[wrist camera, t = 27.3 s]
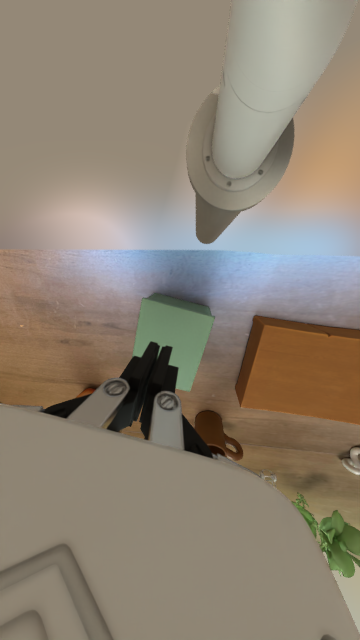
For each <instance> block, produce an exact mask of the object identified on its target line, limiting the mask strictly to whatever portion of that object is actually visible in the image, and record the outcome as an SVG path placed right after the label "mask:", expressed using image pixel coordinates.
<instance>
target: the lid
mask: <svg viewBox="0 0 360 640" xmlns="http://www.w3.org/2000/svg"><path fill="white" fill-rule="evenodd" d="M214 319H215V316H212V315H208V314H205V313H201V312H197V311H193V310H189V309H186V308H182V307H178V306H174V305H171V304H167V303H163V302H159V301H155V300H152V299H148V298H144V297H143V298H142V302H141V308H140V314H139V320H138V326H137V332H136V338H135V344H134V350H133V356H138V357H142V355H143V353H144V351H145V350H146V348H147V346H148V344H149V343H150V341H152V342H156V343H158V345H159V346H160V349H159V353H160V351H161V348H162V346H163V347H165V346H166V345H167V346H171V347H173V349H172V352H171V356H170V360H169V364H168V365H172V366H175V367H179V370H178V376H177V382H176V388H177V389H181V390H184V391H188V392H190V389H191V387H192V384H193V381H194V378H195V375H196V372H197V369H198V366H199V363H200V360H201V357H202V354H203V351H204V349H205V346H206V343H207V340H208V337H209V334H210V331H211V328H212V325H213V322H214ZM159 353H158V356H159ZM133 356H132V358H133Z"/></svg>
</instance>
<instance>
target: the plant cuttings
mask: <svg viewBox="0 0 360 640" xmlns="http://www.w3.org/2000/svg"><path fill="white" fill-rule="evenodd" d="M268 471H269V470H268ZM270 473H271V471H270ZM271 475H272V476H264V474H263V470H262V473H261V472H260V477H261V478H262V479H264V477H271V478H272V479H273V480H274V482H276V480H277V479H276V475H275V473H274V474H271ZM266 481H271V480H266ZM272 484H273V482H272ZM275 487H276V485H275ZM297 494H298V492H297ZM297 496H298V497H299V498H300V499H296V502H297V503H298V504H297V503H295V502H293V501H291V502H292V503H293V504H294V505H295V507H296V508H297V509H298V510H299V512H300V513H301V515H302V516H303V517H304V519H305V521H306V522H307V524H308V526H309V527H310V529H311V531H312V533H313V535H314V537H315V539H316V529H317V530H318V532H320V534H319V535H320V538H321V542H322V543H321V545H320V548H321V550H322V552H326V554H327V558H328V562H329V567H330V569H331V570H338V571H339V574H340V571H341V572H342V573H343V576H344V577H348V578H349V577H352V576H353V575H354V572H355V567H354V563H353V561H355V563H356V564H358V566H359V567H360V560H358V559H357V558H355V557H353V556H352V555H350V554H349V553H348V552H347V550H349V551H350V552H352V553H353V554H355V555H359V556H360V531H359V530H357V529H356V528H354V527H352V526H350V525H348V523H346V522H344V520H343V518H342V516H341V515H340V514H339V513H338V510H335V511H334V512H333V514H332V518H331V517H326V518H323V519H322V521H321V523H320V524H319V525H320V526H317V525H318V523H317V521H316V520H315V519H314V518H313V517H312V515H313V514H312V515H311V513H309V512H308V511H307V510H305V509H304V504H306V505H307V506H308V504H307V503H306V501H305V500H304V497H301V495H299V494H298V495H297ZM302 496H303V495H302ZM302 499H303V500H302ZM299 501H300V502H299ZM303 501H304V502H305V503H304V502H303ZM301 502H303V503H304V504H303V507H302V506H300V505H299V503H301ZM308 507H309V506H308ZM313 516H314V515H313ZM318 527H319V529H318ZM319 530H320V531H319ZM323 531H324V532H325V533H326V534H327V535H326V534H325V533H324V532H323ZM318 543H320V542H318ZM351 558H352V559H353V561H352V559H351ZM340 575H341V574H340Z"/></svg>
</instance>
